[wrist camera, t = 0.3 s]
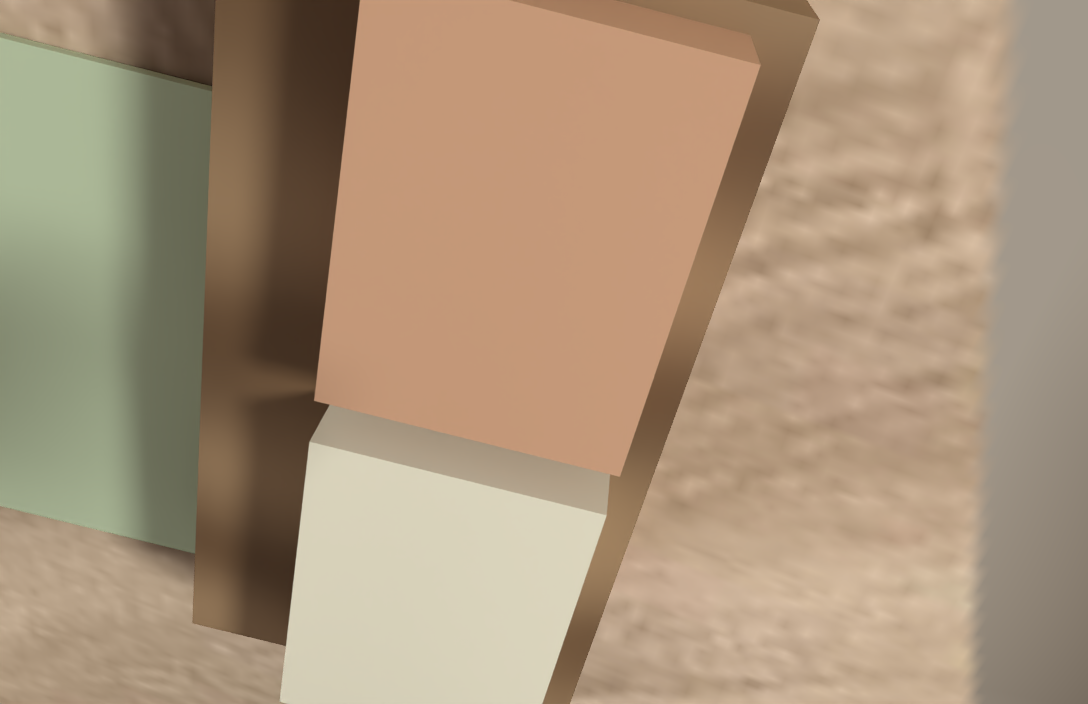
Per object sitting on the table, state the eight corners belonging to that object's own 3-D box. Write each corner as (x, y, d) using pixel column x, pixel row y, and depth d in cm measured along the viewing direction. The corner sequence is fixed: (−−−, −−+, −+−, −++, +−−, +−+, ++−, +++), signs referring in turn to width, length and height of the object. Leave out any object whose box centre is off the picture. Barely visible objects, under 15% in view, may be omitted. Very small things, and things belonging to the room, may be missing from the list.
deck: (576, 614, 28) (566, 714, 25) (244, 532, 28) (192, 623, 25) (794, -18, 18) (819, 19, 15) (293, -148, 18) (220, -136, 15)
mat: (242, 557, 28) (238, 564, 28) (-56, 484, 28) (-63, 490, 28) (275, 102, 21) (270, 106, 21) (-128, -1, 21) (-138, 2, 20)
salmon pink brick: (623, 417, 20) (619, 476, 18) (344, 347, 20) (314, 400, 18) (750, 35, 16) (760, 65, 14) (397, -56, 16) (364, -38, 14)
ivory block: (532, 692, 24) (522, 760, 23) (306, 637, 24) (279, 701, 23) (611, 454, 20) (606, 515, 19) (339, 386, 20) (309, 442, 18)
